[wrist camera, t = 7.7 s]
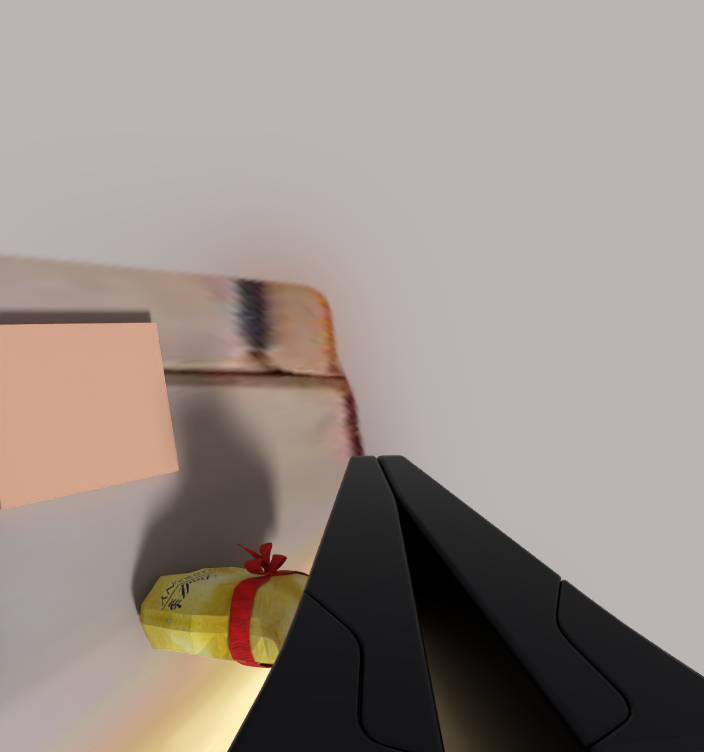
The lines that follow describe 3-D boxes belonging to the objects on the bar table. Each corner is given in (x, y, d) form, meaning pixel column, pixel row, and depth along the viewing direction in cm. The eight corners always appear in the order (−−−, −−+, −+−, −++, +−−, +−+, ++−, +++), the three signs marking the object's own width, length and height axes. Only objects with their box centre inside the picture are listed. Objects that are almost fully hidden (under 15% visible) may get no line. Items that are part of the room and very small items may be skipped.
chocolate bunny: (278, 634, 39) (440, 684, 29) (126, 658, 32) (267, 736, 22) (283, 537, 41) (438, 550, 30) (140, 539, 34) (277, 556, 23)
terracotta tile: (172, 471, 36) (179, 470, 35) (-3, 509, 29) (1, 509, 28) (149, 326, 37) (156, 322, 36) (-27, 329, 30) (-23, 325, 29)
